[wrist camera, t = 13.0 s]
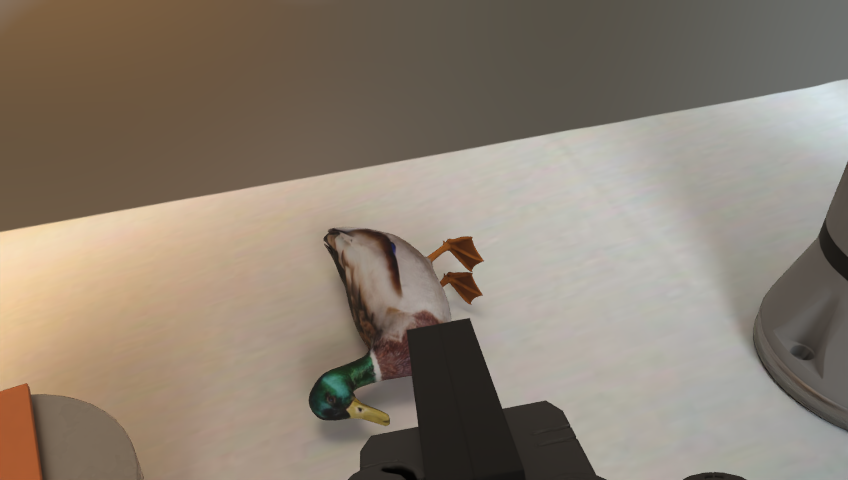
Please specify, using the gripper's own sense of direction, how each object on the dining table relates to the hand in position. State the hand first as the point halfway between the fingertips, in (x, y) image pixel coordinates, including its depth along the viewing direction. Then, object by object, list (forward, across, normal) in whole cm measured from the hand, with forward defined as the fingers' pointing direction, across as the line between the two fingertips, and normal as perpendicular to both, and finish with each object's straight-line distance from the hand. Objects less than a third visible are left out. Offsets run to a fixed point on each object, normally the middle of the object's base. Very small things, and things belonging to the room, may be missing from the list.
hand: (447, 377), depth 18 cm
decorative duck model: (+33, -4, -12) cm, 35 cm away
